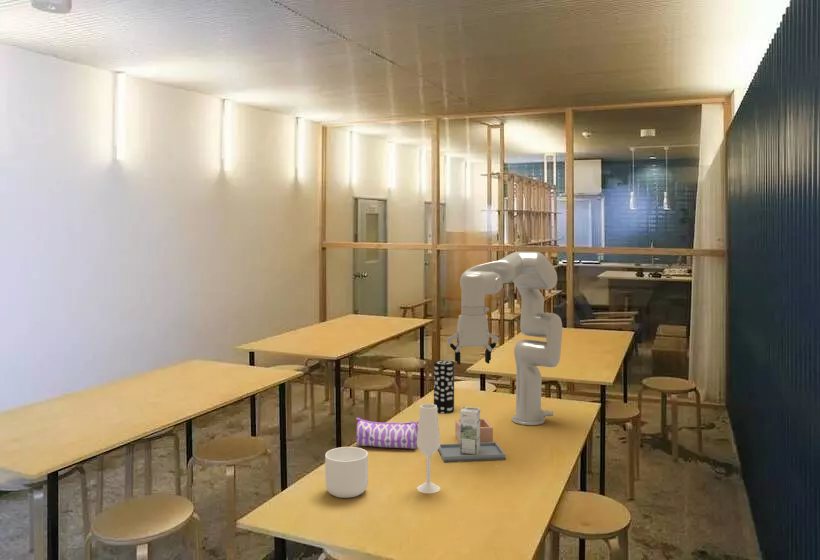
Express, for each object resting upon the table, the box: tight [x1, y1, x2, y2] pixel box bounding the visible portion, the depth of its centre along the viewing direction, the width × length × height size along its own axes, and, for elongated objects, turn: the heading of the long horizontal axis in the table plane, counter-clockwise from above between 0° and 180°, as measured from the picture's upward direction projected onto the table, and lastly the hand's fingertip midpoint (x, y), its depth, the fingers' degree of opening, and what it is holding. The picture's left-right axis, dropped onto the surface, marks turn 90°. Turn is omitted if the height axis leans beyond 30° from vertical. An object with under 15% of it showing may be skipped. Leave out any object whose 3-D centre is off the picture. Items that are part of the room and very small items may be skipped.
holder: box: [454, 418, 494, 444], centre depth 225 cm, size 11×11×6 cm
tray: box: [437, 441, 507, 463], centre depth 211 cm, size 20×12×2 cm, turn 97°
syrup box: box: [459, 406, 481, 455], centre depth 210 cm, size 6×6×14 cm
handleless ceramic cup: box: [324, 446, 369, 499], centre depth 180 cm, size 12×12×11 cm
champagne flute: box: [416, 403, 441, 494], centre depth 182 cm, size 7×7×24 cm
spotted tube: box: [433, 360, 455, 415], centre depth 262 cm, size 8×8×20 cm
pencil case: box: [355, 417, 419, 450], centre depth 219 cm, size 22×9×10 cm, turn 85°
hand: (472, 363), depth 210 cm, fingers open, 9 cm apart
